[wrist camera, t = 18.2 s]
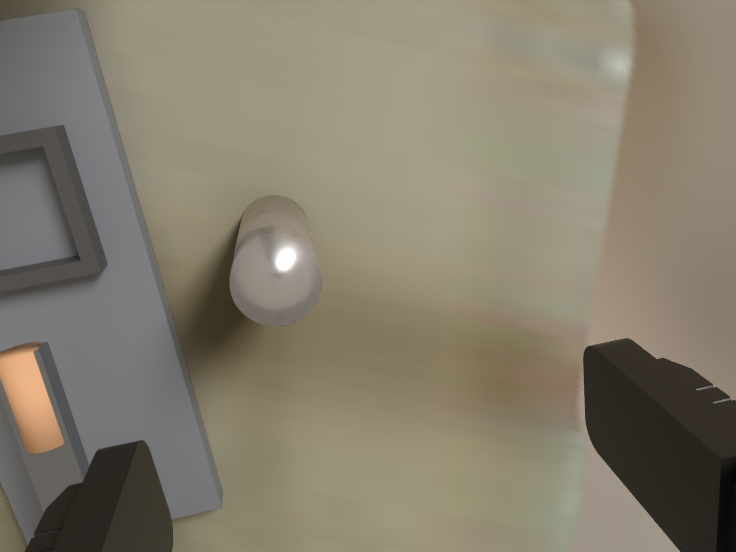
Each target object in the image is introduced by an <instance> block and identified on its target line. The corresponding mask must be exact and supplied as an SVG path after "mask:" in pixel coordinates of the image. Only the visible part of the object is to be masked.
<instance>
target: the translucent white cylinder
mask: <svg viewBox="0 0 736 552" xmlns="http://www.w3.org/2000/svg"><path fill="white" fill-rule="evenodd" d="M229 286H230V293H231V296H232V299H233V301H234V303H235V304H236V306H237V307H238V309H239V310H240V311H241V312H242V313H243V314H244V315H245V316H246V317H248V318H249V319H251V320H253V321H255V322H257V323H260V324H263V325H268V326H283V325H288V324H291V323H294V322H296V321H298V320H300V319H302V318H303V317H304V316H306V315H307V314H308V313H309V312H310V311H311V310H312V309H313V307H314V306H315V304H316V303H317V301H318V298H319V296H320V293H321V287H322V278H321V272H320V268H319V264H318V260H317V256H316V252H315V248H314V244H313V240H312V236H311V232H310V228H309V224H308V220H307V217H306V215H305V213H304V211H303V210H302V209H301V207H300V206H299V205H298V204H296V203H295V202H294V201H292V200H290V199H288V198H286V197H282V196H266V197H263V198H260V199H258V200H256V201H254V202H253V203H252V204H251V205H250V206H249V207H248V208H247V209H246V210H245V212H244V214H243V216H242V219H241V223H240V228H239V233H238V238H237V243H236V248H235V253H234V258H233V263H232V268H231V273H230V280H229Z"/></svg>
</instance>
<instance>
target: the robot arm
mask: <svg viewBox="0 0 736 552" xmlns="http://www.w3.org/2000/svg"><path fill="white" fill-rule="evenodd" d="M583 367H584V396H585V420H586V426H587V431H588V434H589V437H590V440H591V442H592V444H593V446H594V448H595V449H596V451H597V453H598V454H599V455H600V456H601V457H602V459H603V460H604V461H605V462H606V463H607V465H608V466H609V467H610V468H611V469H612V471H613V472H614V473H615V474H616V475H617V477H618V478H619V479H620V480H621V481H622V483H623V484H624V485H625V486H626V487H627V488H628V490H629V491H630V492H631V493H632V494H633V496H634V497H635V498H636V499H637V500H638V502H639V503H640V504H641V505H642V506H643V507H644V508H645V510H646V511H647V512H648V513H649V515H650V516H651V517H652V518H653V519H654V521H655V522H656V523H657V524H658V525H659V527H660V528H661V529H662V530H663V531H664V533H665V534H666V535H667V536H668V537H669V538H670V540H671V541H672V542H673V543H674V544H675V546H676V547H677V548H678V549H679V550H680V552H736V401H735V400H733V401H731V399H730V397H729V396H728V395H727V394H726V393H724V392H723V391H721V390H720V389H719V388H717V387H716V388H714V387H713V384H712V383H710V382H709V381H708V380H706V379H705V378H704V377H702V376H700V375H699V374H698V373H697V372H695V371H694V370H693V369H691V368H688V367H686V366H683V365H680V364H678V363H675V362H672V361H670V360H667V359H665V358H660V359H656V358H655V357H653V356H652V355H651V354H649V353H648V352H647V351H645V350H644V349H643V348H642V347H640V346H639V345H638V344H636V343H635V342H634V341H632V340H630V339H628V338H625V339H620V340H615V341H610V342H606V343H601V344H596V345H592V346H588V347H587V348H586V349H585V351H584V356H583ZM172 548H173V527H172V520H171V515H170V511H169V507H168V504H167V501H166V498H165V495H164V492H163V489H162V486H161V483H160V480H159V477H158V473H157V470H156V467H155V464H154V461H153V458H152V455H151V452H150V449H149V447H148V445H147V443H146V442H145V441H144V440H139V441H134V442H130V443H125V444H120V445H116V446H111V447H106V448H101V449H98V450H97V451H96V453H95V455H94V457H93V459H92V461H91V464H90V466H89V468H88V471H87V473H86V475H85V477H84V480H83V482H82V483H78V484H73V485H69V486H68V487H67V488H66V489H65V490H64V491H63V492H62V493H61V494H60V495H59V496H58V497H57V498H56V499H55V500H54V501H53V502H52V503H51V504H50V505H49V506H48V507H47V508H46V510H45V512H44V514H43V516H42V518H41V520H40V522H39V524H38V526H37V528H36V530H35V532H34V538H31V540H30V542H29V544H28V546H27V548H26V550H25V552H172Z"/></svg>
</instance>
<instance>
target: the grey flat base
mask: <svg viewBox="0 0 736 552" xmlns="http://www.w3.org/2000/svg"><path fill="white" fill-rule="evenodd" d="M30 342H42V343H43V342H48V343H49V346H50V349H51V352H52V355H53V358H54V361H55V364H56V367H57V370H58V373H59V376H60V379H61V382H62V385H63V388H64V391H65V394H66V397H67V400H68V403H69V406H70V409H71V412H72V415H73V418H74V421H75V424H76V427H77V430H78V433H79V436H80V439H81V442H82V445H83V448H84V451H85V453H86V456H87V459H88V462H89V465H90V464H91V461H92V459H93V457H94V455H95V453H96V451H97V450H98V449H101V448H106V447H111V446H116V445H120V444H125V443H130V442H134V441H139V440H144V441H145V442H146V443H147V445H148V447H149V449H150V452H151V455H152V458H153V461H154V464H155V467H156V470H157V473H158V477H159V480H160V483H161V486H162V489H163V492H164V495H165V498H166V501H167V504H168V507H169V511H170V515H171V520H173V519H177V518H181V517H186V516H190V515H194V514H199V513H203V512H207V511H211V510H216V509H220V508H222V501H223V491H222V487H221V484H220V480H219V477H218V473H217V470H216V466H215V463H214V459H213V456H212V452H211V449H210V445H209V442H208V438H207V435H206V432H205V428H204V425H203V421H202V418H201V414H200V411H199V407H198V404H197V400H196V397H195V393H194V390H193V386H192V383H191V379H190V376H189V373H188V369H187V366H186V362H185V359H184V355H183V352H182V348H181V345H180V341H179V338H178V334H177V331H176V327H175V324H174V320H173V317H172V314H171V310H170V307H169V303H168V300H167V296H166V293H165V289H164V286H163V282H162V279H161V275H160V272H159V268H158V265H157V261H156V258H155V255H154V251H153V248H152V244H151V241H150V237H149V234H148V230H147V227H146V223H145V220H144V216H143V213H142V209H141V206H140V202H139V199H138V196H137V192H136V189H135V185H134V182H133V178H132V175H131V171H130V168H129V164H128V161H127V157H126V154H125V150H124V147H123V143H122V140H121V137H120V133H119V130H118V126H117V123H116V119H115V116H114V112H113V109H112V105H111V102H110V98H109V95H108V91H107V88H106V84H105V81H104V78H103V74H102V71H101V67H100V64H99V60H98V57H97V53H96V50H95V46H94V43H93V39H92V36H91V32H90V29H89V25H88V22H87V19H86V15H85V12H84V11H82V10H79V9H69V10H63V11H57V12H50V13H44V14H38V15H31V16H25V17H19V18H13V19H6V20H0V351H4V350H6V349H9V348H11V347H14V346H17V345H21V344H25V343H30ZM0 482H1V484H2V487H3V489H4V491H5V494H6V496H7V498H8V501H9V503H10V505H11V508H12V510H13V512H14V515H15V517H16V519H17V522H18V524H19V526H20V529H21V531H22V534H23V536H24V538H25V541H26V543H27V545H28V544H29V542H30V540H31V538H34V532H35V530H36V528H37V526H38V524H39V522H40V520H41V518H42V516H43V511H42V508H41V505H40V503H39V500H38V497H37V495H36V492H35V489H34V486H33V484H32V481H31V478H30V476H29V473H28V470H27V467H26V465H25V462H24V459H23V457H22V454H21V451H20V448H19V446H18V443H17V440H16V438H15V435H14V432H13V430H12V427H11V424H10V421H9V419H8V416H7V413H6V411H5V408H4V405H3V402H2V400H1V397H0Z"/></svg>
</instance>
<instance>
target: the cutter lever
mask: <svg viewBox="0 0 736 552" xmlns="http://www.w3.org/2000/svg"><path fill="white" fill-rule="evenodd" d="M0 397H1V400H2V402H3V405H4V408H5V411H6V413H7V416H8V419H9V421H10V424H11V427H12V430H13V432H14V435H15V438H16V440H17V443H18V446H19V448H20V451H21V454H22V457H23V459H24V462H25V465H26V467H27V470H28V473H29V476H30V478H31V481H32V484H33V486H34V489H35V492H36V495H37V497H38V500H39V503H40V505H41V508H42V511H43V514H44V512H45V510H46V508H47V507H48V506H49V505H50V504H51V503H52V502H53V501H54V500H55V499H56V498H57V497H58V496H59V495H60V494H61V493H62V492H63V491H64V490H65V489H66V488H67V487H68V486H69V485H73V484H78V483H82V482H83V480H84V477H85V475H86V473H87V471H88V468H89V466H90V465H89V462H88V459H87V456H86V453H85V451H84V448H83V445H82V442H81V439H80V436H79V433H78V430H77V427H76V424H75V421H74V418H73V415H72V412H71V409H70V406H69V403H68V400H67V397H66V394H65V391H64V388H63V385H62V382H61V379H60V376H59V373H58V370H57V367H56V364H55V361H54V358H53V355H52V352H51V349H50V346H49V343H48V342H43V343H42V342H30V343H25V344H21V345H17V346H14V347H11V348H9V349H6V350H4V351H0Z"/></svg>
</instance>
